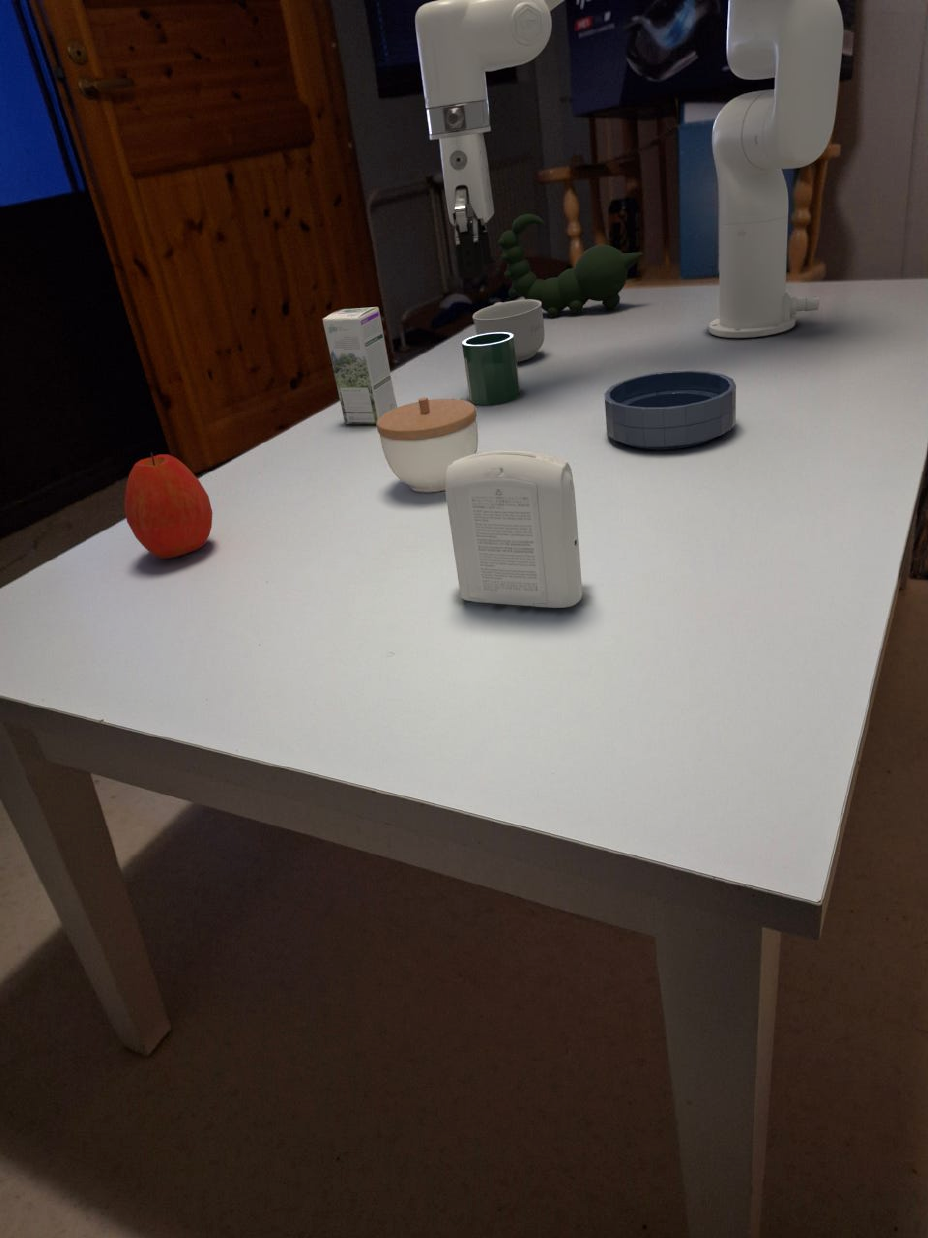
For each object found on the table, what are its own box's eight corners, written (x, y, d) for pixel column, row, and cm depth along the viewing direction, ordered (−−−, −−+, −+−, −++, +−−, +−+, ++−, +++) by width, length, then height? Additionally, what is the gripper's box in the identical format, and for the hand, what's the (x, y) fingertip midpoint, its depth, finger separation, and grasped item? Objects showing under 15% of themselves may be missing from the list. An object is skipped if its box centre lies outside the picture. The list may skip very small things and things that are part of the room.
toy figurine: (511, 333, 166) (647, 307, 158) (489, 224, 158) (632, 191, 150) (521, 321, 174) (651, 296, 166) (500, 217, 165) (637, 185, 157)
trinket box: (497, 463, 102) (486, 381, 97) (466, 501, 93) (453, 413, 88) (410, 465, 105) (396, 386, 101) (373, 501, 97) (356, 416, 92)
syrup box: (399, 411, 125) (380, 304, 118) (378, 425, 121) (357, 315, 114) (364, 411, 128) (344, 306, 121) (343, 425, 123) (320, 317, 116)
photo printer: (589, 587, 73) (577, 441, 67) (575, 613, 70) (562, 462, 64) (473, 581, 77) (451, 443, 71) (454, 605, 74) (430, 462, 68)
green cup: (521, 387, 127) (515, 329, 124) (518, 401, 121) (511, 341, 118) (473, 392, 129) (465, 335, 125) (467, 407, 123) (459, 348, 119)
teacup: (548, 362, 137) (543, 308, 133) (478, 372, 138) (471, 319, 134) (543, 342, 149) (538, 292, 145) (479, 351, 150) (472, 301, 146)
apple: (178, 574, 87) (143, 470, 82) (124, 564, 91) (87, 464, 86) (238, 539, 93) (209, 440, 88) (184, 530, 97) (153, 435, 92)
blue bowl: (725, 406, 107) (725, 364, 105) (744, 446, 95) (744, 400, 93) (605, 418, 110) (603, 378, 107) (609, 459, 98) (606, 414, 95)
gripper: (482, 118, 101) (499, 278, 109) (495, 116, 116) (509, 257, 124) (417, 128, 102) (438, 285, 110) (438, 125, 117) (456, 263, 125)
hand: (476, 270), depth 117 cm, fingers open, 9 cm apart
